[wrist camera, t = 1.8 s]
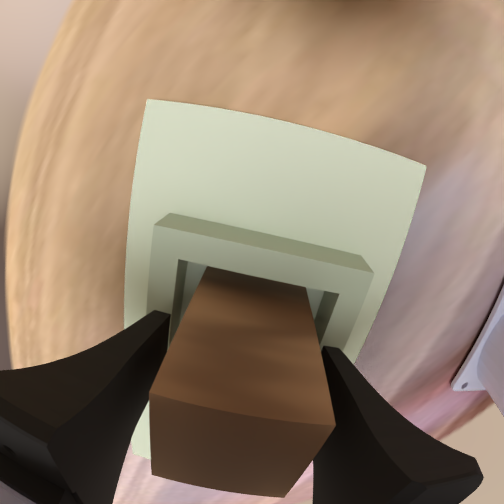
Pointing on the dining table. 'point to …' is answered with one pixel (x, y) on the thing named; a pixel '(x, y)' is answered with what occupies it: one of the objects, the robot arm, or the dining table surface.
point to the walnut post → (241, 389)
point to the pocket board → (263, 218)
